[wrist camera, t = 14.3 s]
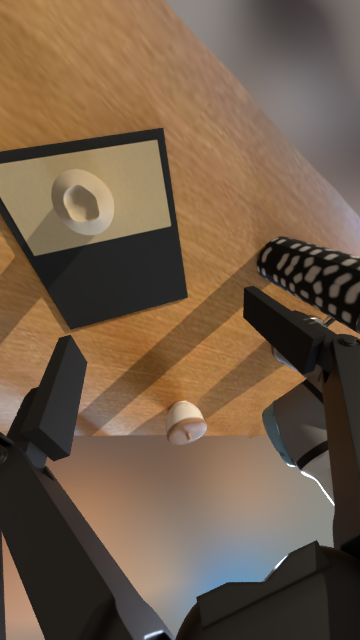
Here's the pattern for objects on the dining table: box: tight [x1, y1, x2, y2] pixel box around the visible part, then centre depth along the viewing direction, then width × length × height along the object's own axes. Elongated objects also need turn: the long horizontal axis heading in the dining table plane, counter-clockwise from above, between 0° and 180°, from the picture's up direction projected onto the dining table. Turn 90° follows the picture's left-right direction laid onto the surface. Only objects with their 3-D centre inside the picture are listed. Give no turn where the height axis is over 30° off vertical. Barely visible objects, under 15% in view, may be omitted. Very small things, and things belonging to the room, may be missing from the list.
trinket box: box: [166, 401, 207, 445], centre depth 54 cm, size 11×11×9 cm
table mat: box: [0, 128, 188, 329], centre depth 30 cm, size 22×24×1 cm
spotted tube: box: [257, 237, 360, 334], centre depth 31 cm, size 8×8×20 cm
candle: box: [51, 169, 114, 235], centre depth 22 cm, size 6×6×10 cm
